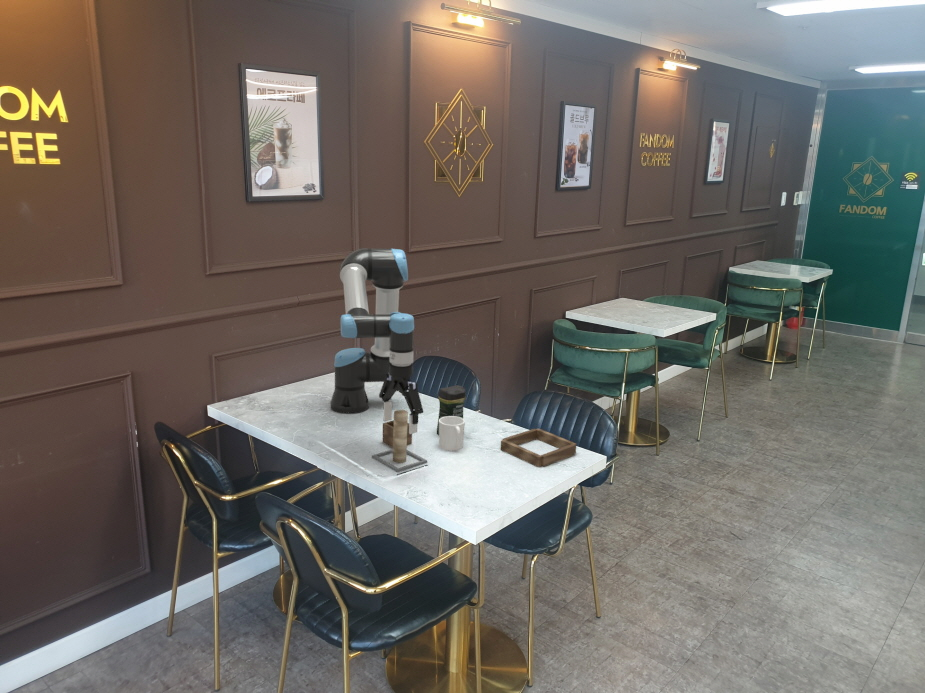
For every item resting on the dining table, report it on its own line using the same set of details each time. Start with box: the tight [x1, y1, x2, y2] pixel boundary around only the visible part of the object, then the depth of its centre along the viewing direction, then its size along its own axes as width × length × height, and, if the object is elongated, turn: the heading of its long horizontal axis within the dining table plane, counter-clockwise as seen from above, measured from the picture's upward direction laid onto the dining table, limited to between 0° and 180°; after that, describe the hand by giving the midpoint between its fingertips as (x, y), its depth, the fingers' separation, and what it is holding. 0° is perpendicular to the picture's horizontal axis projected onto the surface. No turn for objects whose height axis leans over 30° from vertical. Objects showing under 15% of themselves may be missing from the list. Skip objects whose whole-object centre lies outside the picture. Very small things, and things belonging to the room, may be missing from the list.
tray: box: [371, 448, 428, 476], centre depth 230 cm, size 14×12×2 cm
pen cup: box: [382, 419, 413, 449], centre depth 243 cm, size 7×7×8 cm
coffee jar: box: [436, 384, 467, 436], centre depth 253 cm, size 10×8×19 cm
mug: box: [438, 416, 466, 452], centre depth 241 cm, size 11×9×10 cm
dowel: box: [392, 409, 409, 464], centre depth 228 cm, size 4×4×17 cm
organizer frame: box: [500, 427, 577, 468], centre depth 244 cm, size 19×19×4 cm
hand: (400, 426), depth 227 cm, fingers open, 13 cm apart
